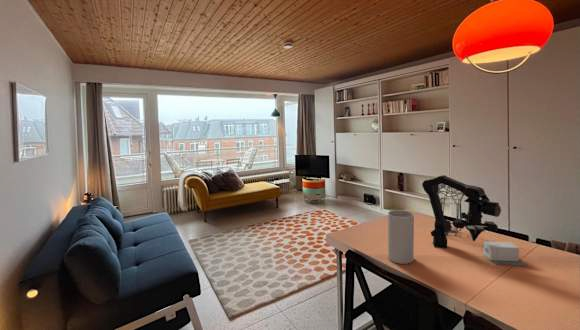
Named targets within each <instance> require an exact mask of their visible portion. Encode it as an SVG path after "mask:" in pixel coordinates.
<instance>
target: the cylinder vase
mask: <svg viewBox="0 0 580 330" xmlns="http://www.w3.org/2000/svg"><path fill="white" fill-rule="evenodd" d="M414 220H415V214H414V212H411V211H408V210H401V209H397V210H396V209H395V210H389V211H388V212H387V245H388V246H387V253H388V255H387V257H388V259H389V260H390V261H391V262H393V263H395V264H399V265H408V263H409V264H412V263H413V262H414V251H415V250H414V244H415V242H414V237H415V236H414V235H415V233H414V232H415V231H414V229H415V225H414V224H415V221H414Z"/></svg>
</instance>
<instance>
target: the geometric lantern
mask: <svg viewBox="0 0 580 330" xmlns="http://www.w3.org/2000/svg"><path fill="white" fill-rule="evenodd" d="M438 187H439V189H438V197H439V200H440V203H441V207H442V210H443V214H444V215H445V213H444V212H445V204H446V202H445V201H446V199H447V200H451V199H452V200H453V201H454V202H453V203H452V202H447V204H449V205H451V204H452V205H454V204H455V205H456V220H462V221H463V219H462V218H461V213H462V200H463V198H464V196H465V195H464V194H463V193H462V192H459V191H458V190H456V189H454V188H451V187H449V186H447V185H445V184H440V185H438ZM442 189H444V190H446V191H444V190H442ZM457 192H459V193H457ZM448 194H450V195H449V196H448ZM453 194H454V195H453ZM440 195H441V197H440ZM443 195H444V197H443ZM459 195H461V197H459ZM454 197H457V198H454ZM456 200H457V201H458V203H457V201H456ZM450 223H451V225H453V222H450ZM458 229H459V230H458ZM461 231H462V228H455V227H452V229H451V232H450V233H449V234H451V236H452V237H453V236H455V237H456V236H458V233H459V232H461Z"/></svg>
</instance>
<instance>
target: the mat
mask: <svg viewBox="0 0 580 330" xmlns="http://www.w3.org/2000/svg"><path fill="white" fill-rule="evenodd" d="M491 262H493V263H494V264H495V265H501V266H502V265H503V266H512V267H525V268H526V267H528V266H527V264H526V263H525V262H523V260H522V259H520V258H519V260H518V261H495V260H491Z"/></svg>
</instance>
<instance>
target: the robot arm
mask: <svg viewBox="0 0 580 330" xmlns="http://www.w3.org/2000/svg"><path fill="white" fill-rule="evenodd" d="M441 184H445V185H446V187H448V186H449V187H451V188H452V189H453V190H454V189H455V191H456V190H458V191H457V192H460V193H462V194H464V196H465V197H467V199H464V201H463V202H465V203H468V211H467V213H466V212H461V218H462V220H460V219H458V220H457V219H454V220H453V221H452V222H451V220H447V219H446V218H445V213H444V214H443V206H442V207H441V203H440V200H439V197H440V196H439V197H438V189H439V187H438V186H439V185H441ZM421 185H422V188H423V190H424V192H425V194H427V195H428V199H429V202H430V205H431V209H432V212H433V216H434V219H435V220H434V229H433V230H432V231H430V235H431V237H433V238H432V245H433V247H434V248H443V249H447V248H448V237H447V236H449V235H450V234H451V233H450V232H452V231H451V230H452V229H453V228H455V229H456V228H458V229H460V228H461V229H464V228H465V229H466V230H467V231H469V234H470V237H471V239H472V242H475V241H476V240H477V238H478V237H479V235H480V234H481V233H482V232H485V229H484V228H488V229H489V230H490V231H498V229H499V227H498V224H496V223H495V222H494V221H487V220H485V221H484V222H482V218H483V214H484V215H487V216H491V217H496V218H498V217H499V216H500V215H501V212H502V209H501V206H500V203H499V202H496V201H491V200H490V199H489V197H488V196H487V194H486V192H485V189H484V188H482V187H480V186H476V185H469V184H466V183H464V182H461V181H459V180H456V179H453V178H451V177H448V176H447V175H444V174H443V175H438V176H437V177H435V178H429V179H425V180H424V181H423V182H422V184H421ZM451 188H450V189H451ZM463 220H464V221H466V222H464V221H463ZM451 223H453V224H451ZM452 225H453V226H452Z"/></svg>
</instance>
